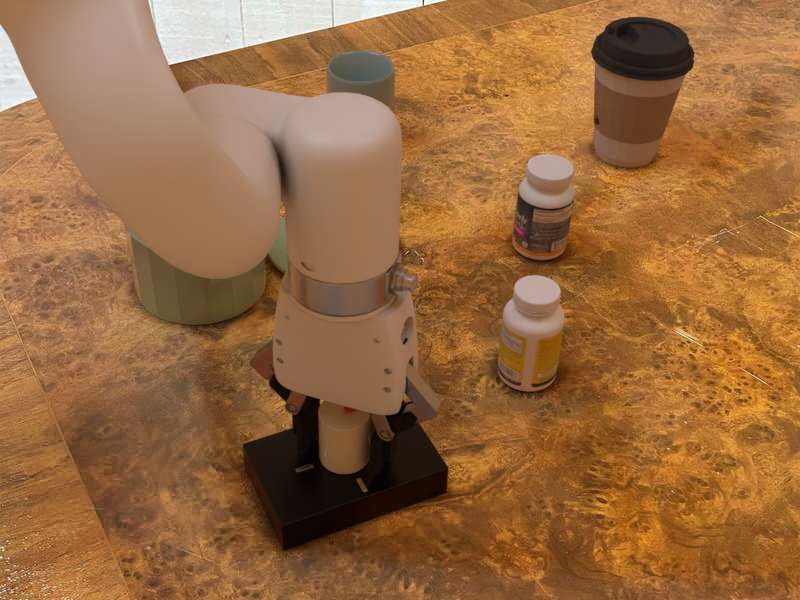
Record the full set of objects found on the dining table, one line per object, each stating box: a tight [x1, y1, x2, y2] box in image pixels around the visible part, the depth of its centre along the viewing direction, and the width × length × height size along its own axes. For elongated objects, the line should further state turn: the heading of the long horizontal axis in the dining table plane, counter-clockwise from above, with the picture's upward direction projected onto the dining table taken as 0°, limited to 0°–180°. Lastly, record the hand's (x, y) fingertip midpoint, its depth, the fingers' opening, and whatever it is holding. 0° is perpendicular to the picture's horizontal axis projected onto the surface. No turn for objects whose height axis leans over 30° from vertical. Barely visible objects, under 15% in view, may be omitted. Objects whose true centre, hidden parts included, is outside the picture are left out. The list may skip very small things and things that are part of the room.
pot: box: [123, 222, 267, 326], centre depth 103 cm, size 13×18×8 cm
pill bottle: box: [511, 153, 576, 261], centre depth 109 cm, size 6×6×10 cm
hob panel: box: [241, 398, 449, 551], centre depth 86 cm, size 14×9×3 cm, turn 115°
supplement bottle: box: [496, 274, 566, 392], centre depth 94 cm, size 5×5×10 cm
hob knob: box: [318, 400, 370, 474], centre depth 83 cm, size 4×4×5 cm
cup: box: [325, 50, 396, 114], centre depth 123 cm, size 8×8×10 cm
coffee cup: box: [590, 16, 695, 169], centre depth 122 cm, size 11×11×15 cm
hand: (345, 448), depth 84 cm, fingers open, 5 cm apart
